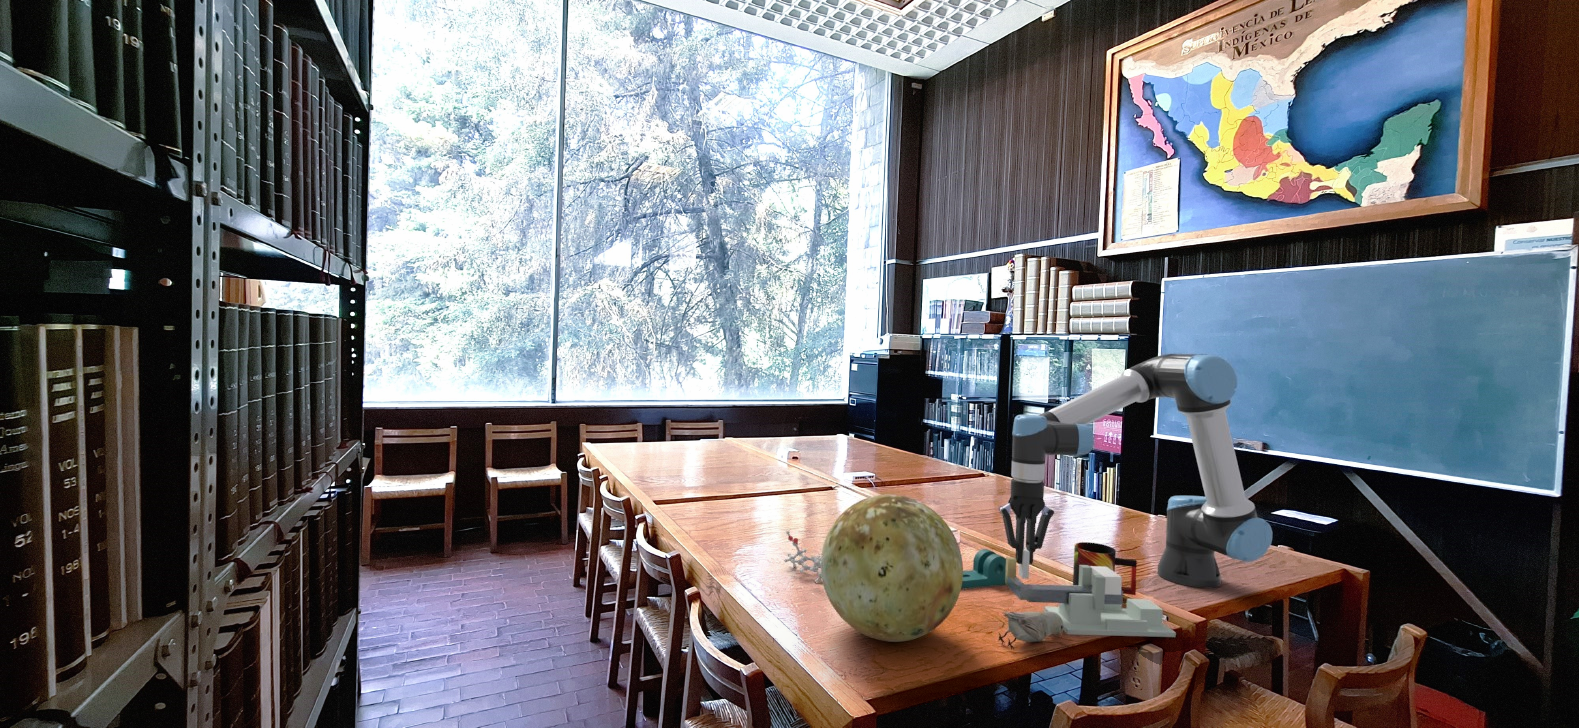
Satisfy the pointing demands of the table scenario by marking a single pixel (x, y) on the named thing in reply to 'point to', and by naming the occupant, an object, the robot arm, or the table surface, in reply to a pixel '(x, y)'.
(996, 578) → the bracket
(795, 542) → the molecular model
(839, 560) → the globe
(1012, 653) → the table surface
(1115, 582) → the block
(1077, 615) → the stepped block fixture
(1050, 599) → the bent bar
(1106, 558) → the mug
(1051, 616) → the decorative bird
